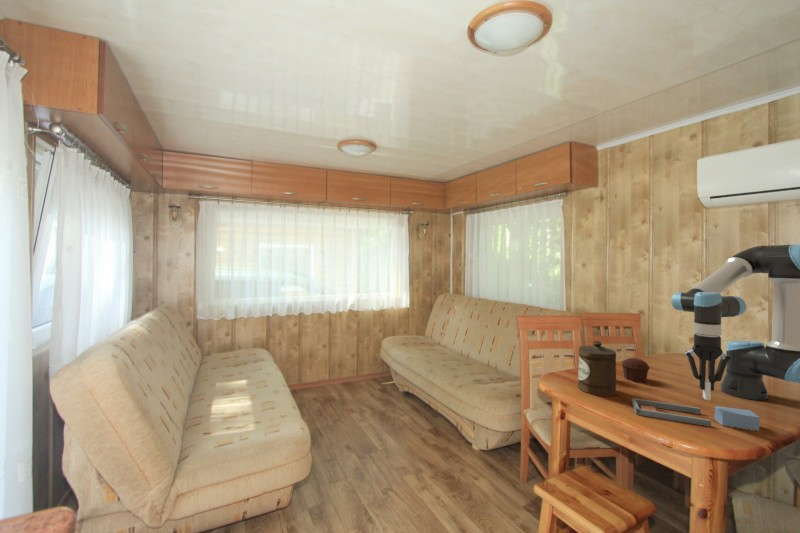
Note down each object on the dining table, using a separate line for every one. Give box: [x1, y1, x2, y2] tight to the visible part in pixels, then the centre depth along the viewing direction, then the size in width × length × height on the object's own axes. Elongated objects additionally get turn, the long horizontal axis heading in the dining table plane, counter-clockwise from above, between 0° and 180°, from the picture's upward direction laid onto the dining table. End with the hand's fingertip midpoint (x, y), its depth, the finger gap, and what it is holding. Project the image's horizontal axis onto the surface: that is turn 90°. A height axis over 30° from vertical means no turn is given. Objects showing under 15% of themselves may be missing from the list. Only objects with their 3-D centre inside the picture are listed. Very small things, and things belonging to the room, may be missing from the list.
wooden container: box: [577, 340, 617, 397], centre depth 160 cm, size 15×15×22 cm
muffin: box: [621, 357, 650, 383], centre depth 175 cm, size 12×11×10 cm
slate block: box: [714, 405, 761, 432], centre depth 127 cm, size 10×6×5 cm, turn 68°
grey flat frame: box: [631, 397, 712, 427], centre depth 136 cm, size 22×12×2 cm, turn 65°
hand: (706, 398), depth 131 cm, fingers closed
